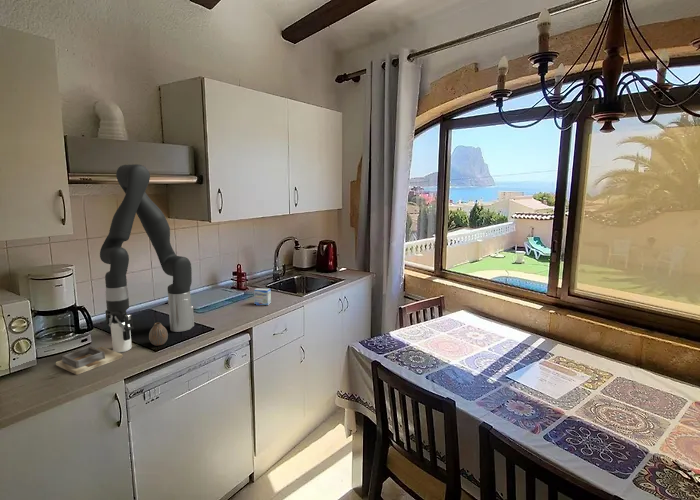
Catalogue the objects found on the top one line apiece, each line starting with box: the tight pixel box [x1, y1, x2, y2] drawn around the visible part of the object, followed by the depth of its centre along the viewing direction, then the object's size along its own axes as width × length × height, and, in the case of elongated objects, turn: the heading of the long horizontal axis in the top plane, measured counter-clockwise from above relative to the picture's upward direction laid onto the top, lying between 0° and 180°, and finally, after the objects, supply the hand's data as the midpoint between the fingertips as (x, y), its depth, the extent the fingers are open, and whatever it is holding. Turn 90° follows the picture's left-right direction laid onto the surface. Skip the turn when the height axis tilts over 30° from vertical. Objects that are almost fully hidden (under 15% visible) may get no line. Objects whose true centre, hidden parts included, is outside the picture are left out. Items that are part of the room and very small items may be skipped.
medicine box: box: [253, 287, 272, 306], centre depth 214 cm, size 8×4×9 cm, turn 80°
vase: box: [148, 322, 169, 347], centre depth 161 cm, size 7×7×9 cm
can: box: [110, 321, 132, 354], centre depth 155 cm, size 6×6×12 cm
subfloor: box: [55, 346, 124, 376], centre depth 145 cm, size 16×14×4 cm
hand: (120, 337), depth 155 cm, fingers open, 8 cm apart
